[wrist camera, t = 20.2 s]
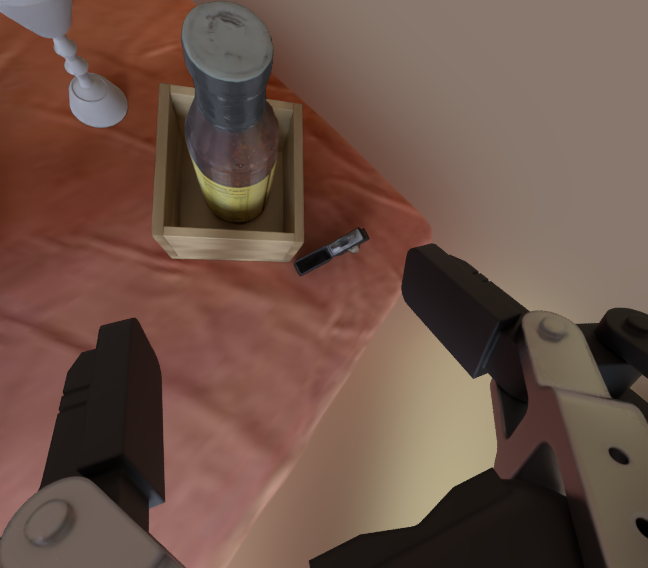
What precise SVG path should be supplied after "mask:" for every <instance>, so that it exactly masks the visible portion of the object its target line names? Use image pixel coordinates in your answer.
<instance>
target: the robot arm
mask: <svg viewBox="0 0 648 568" xmlns="http://www.w3.org/2000/svg"><path fill="white" fill-rule="evenodd" d="M401 290H402V295H403V298H404V300H405V302H406V303H407V305H408V306H409V307H410V308H411V309H412V310H413V311H414V313H415V314H416V315H417V316H418V317H419V318H420V319H421V320H422V322H423V323H424V324H425V325H426V326H427V327H428V328H429V329H430V331H431V332H432V333H433V334H434V335H435V336H436V337H437V339H438V340H439V341H440V342H441V343H442V344H443V345H444V346H445V348H446V349H447V350H448V351H449V352H450V353H451V354H452V355H453V356H454V358H455V359H456V360H457V361H458V362H459V363H460V364H461V366H462V367H463V368H464V369H465V370H466V371H467V372H468V373H469V375H470V376H471V377H472V378H473V379H474V378H477V377H479V376H482V375H484V374H487V373H488V374H489V375H490V376H491V377H492V380H491V383H490V390H491V398H492V405H493V413H494V421H495V429H496V437H497V454H496V459H495V463H494V469H493V468H490V469H488V470H486V471H484V472H482V473H481V474H478V475H476V476H475V477H472V478H470V479H469V480H466V481H465V482H463V483H461V484H459V485H457V486H455V487H453V488H452V489H451V490H450V491H449V492H448V493H447V495H446V496H445V497H444V498H443V499H442V500H441V501H440V502H439V503H438V504H437V505H436V506H435V507H434V509H432V511H431V512H430V513H429V514H428V515H427V516H426V517H425V518H424V519H423V520H422V521H421V522H420V523H419V524H418V525H416V526H412V527H406V528H400V529H393V530H387V531H381V532H374V533H368V534H361V535H358V536H357V537H355V538H353V539H351V540H349V541H347V542H345V543H343V544H341V545H339V546H337V547H335V548H333V549H331V550H329V551H327V552H325V553H323V554H321V555H319V556H317V557H315V558H314V559H311V560H309V564H310V568H648V403H647V402H646V401H645V400H643V399H642V398H641V397H640V396H639V395H637V394H636V393H635V392H634V391H632V390H631V389H630V387H631V386H632V385H633V384H634V383H635V381H636V380H637V379H638V378H639V377H640V376H641V375H642V374H643V375H644V376H645V377H647V378H648V315H647V314H645V313H643V312H640V311H636V310H633V309H628V308H613V309H610V310H608V311H607V312H606V314H605V315H604V317H603V318H602V319H601V321H600V322H599V323H590V324H589V323H588V324H574V323H573V322H572V321H570V320H569V319H567V318H565V317H563V316H561V315H558V314H556V313H553V312H548V311H531V312H530V311H528V310H527V309H526V308H525V307H523V306H522V305H520V304H519V303H518V302H517V301H516V300H514V299H513V298H512V297H511V296H509V295H508V294H506V293H505V292H504V291H503V290H502V289H500V288H499V287H498V286H496V285H495V284H494V283H493V282H491V281H490V282H489V281H488V279H487V278H486V277H485V276H484V275H482V274H481V273H480V274H479V273H478V271H477V270H476V269H475V268H473V267H472V266H471V265H469V264H468V263H467V262H465V261H463V260H461V259H459V258H456V257H454V256H452V255H448V254H447V253H446V252H444V251H443V250H442V249H441V248H439V247H438V246H437V245H436V244H427V245H423V246H419V247H415V248H411V249H410V250H409V251H408V253H407V256H406V262H405V268H404V274H403V280H402V286H401ZM63 394H64V396H62V398H61V402H60V406H59V411H60V413H58V415H57V419H56V423H55V427H54V432H53V436H52V440H51V444H50V448H49V453H48V457H47V461H46V465H45V470H44V474H43V478H42V482H41V485H40V488H39V490H38V492H37V493H35V494H34V495H33V496H32V497H30V498H29V499H28V500H27V501H26V502H25V503H24V504H23V505H22V506H21V507H20V508H19V510H18V511H17V512H16V513H15V514H14V516H13V517H12V519H11V520H10V521H9V523H8V525H7V527H6V528H5V530H4V532H3V535H2V537H1V538H0V568H186V567H185V566H184V565H183V564H182V563H181V562H179V561H178V560H177V559H176V558H175V557H174V556H173V555H172V554H171V553H170V552H169V551H168V550H167V549H166V548H165V547H164V546H163V545H162V544H161V543H159V542H158V541H157V540H156V539H155V538H154V537H153V536H152V535H151V534H150V533H149V508H152V507H154V506H157V505H159V504H162V503H164V502H165V482H164V445H163V409H162V377H161V370H160V365H159V362H158V359H157V356H156V354H155V352H154V350H153V349H152V347H151V345H150V343H149V341H148V339H147V337H146V335H145V333H144V331H143V329H142V327H141V325H140V323H139V322H138V320H137V319H136V318H130V319H126V320H122V321H118V322H114V323H110V324H106V325H102V326H101V327H100V329H99V333H98V339H97V345H96V349H93V350H89V351H86V352H82V353H81V354H80V355H79V357H78V358H77V360H76V361H75V362H74V364H73V365H72V367H71V368H70V369H69V371H68V372H67V377H66V381H65V385H64V389H63Z"/></svg>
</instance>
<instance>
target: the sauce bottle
mask: <svg viewBox="0 0 648 568" xmlns="http://www.w3.org/2000/svg"><path fill="white" fill-rule="evenodd" d="M181 43H182V47H183V53H184V60H185V62H186V66H187V69H188V71H189V73H190V74H191V76H192V77H193V82H194V85H195V97H194V99H193V101H192V104H191V106H190V109H189V111H188V114H187V117H186V121H185V139H186V143H187V147H188V150H189V153H190V157H191V159H192V162H193V165H194V168H195V171H196V175H197V178H198V181H199V185H200V187H201V191H202V194H203V197H204V200H205V202H206V204H207V206H208V207H209V208H210V210H211V211H212V212H213V213H214V214H215V215H216V216H217V217H218V218H219V219H222V220H224V221H226V222H229V223H234V224H245V223H248V222H251V221H252V220H254V219H255V218H257V217H258V216H259V215H260V214H262V212H263V211H264V209H265V206H266V205H267V202H268V199H269V194H270V190H271V185H272V180H273V175H274V170H275V165H276V160H277V154H278V143H279V125H278V120H277V118H276V117H275V114H274V111H273V107H272V106H271V105H270V104H269V103H268V102H267V101H266V85H267V82H268V80H269V78H270V75H271V69H272V64H273V44H272V39H271V36H270V34H269V31H268V29H267V27H266V25H265V24H264V23H263V21H262V20H261V19H260V18H259V17H258V16H257V15H256V14H255V13H254V12H252V11H251V10H249V9H247V8H246V7H244V6H242V5H239V4H237V3H233V2H227V1H214V2H209V3H202V4H201V5H199V6H197V7H195V8H193V9H192V10H191V11H190V12H189V13H188V15H187V17H186V18H185V20H184V22H183V27H182V35H181Z"/></svg>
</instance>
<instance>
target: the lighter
mask: <svg viewBox="0 0 648 568" xmlns="http://www.w3.org/2000/svg"><path fill="white" fill-rule="evenodd" d="M369 239H370V238H369V236H368V234H367V232H366V231H365V229H364V228H363V229H360V228H359V227H358V228H356V229H354V230H353V231H351V232H349V233H348V234H346V235H344V236H342V237H341V238H339V239H337V240H335V241H334V242H332V243H330V244H328V245H327V246H323V247H322V248H320V249H318V250H316V251H314V252H312V253H310V254H308V255H306V256H304V257H302V258H301V259H299V260H297V261H295V263H294V267H295V268H296V270H297V272H298V274H299V276H302V275H304V274H306V273H308V272H310V271H312V270H314V269H316V268H318V267H320V266H321V265H323V264H325V263H327V262H329V261H330V260H331V259H332V258H333V257H334V256H339V255H342V254H344V253H345V252H347V251H349V252H351V253H357V252H358V250H359V245H360V244H362V243H363V242H365V241H367V240H369Z"/></svg>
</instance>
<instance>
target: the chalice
mask: <svg viewBox="0 0 648 568" xmlns="http://www.w3.org/2000/svg"><path fill="white" fill-rule="evenodd" d="M0 12H1V13H3V14H4V15H6V16H7V17H9V18H11V19H12V20H14V21H16V22H17V23H19V24H21V25H22V26H24V27H26V28H27V29H29V30H31V31H32V32H34V33H36V34H37V35H39V36H42V37H45V38H53V41H54V43H55V44H54V50H55V52H56V53H57V54H58V55H60V56H63V57H64V58H65V59H66V61H65V69H66V70H67V72H68V73H70V74H72V75H75V77H74V78H73V80H72V81H71V83H70V85H69V99H70V108H71V110H72V112H73V114H74V115H75V116H76V117H77V118H78V119H79V120H80V121H82V122H83V123H85V124H87V125H90V126H93V127H109V126H113V125H115V124H117V123H118V122H120V121H121V120H122V119H123V118H124V116H125V115H126V112H127V109H128V104H127V99H126V97H125V95H124V93H123V92H122V91H121V90H120V89H119V88H118V87H117V86H115V85H114V84H113V83H111V82H110V81H108V80H107V79H106V78H104V77H103V76H101V75H98V74H95V73H87V70H88V63H87V61H86V60H85V59H83V58H82V57H79V56H77V54H76V51H77V45H76V44H75V42H74V41H72V40H71V39H69V38H68V37H67V36H66V35H65V34H66V33H67V31H68V30H69V29H70V26H71V17H72V0H0Z"/></svg>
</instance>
